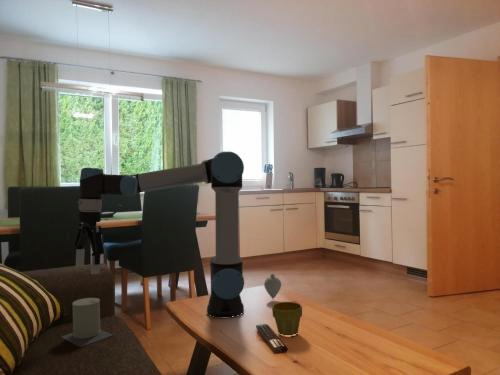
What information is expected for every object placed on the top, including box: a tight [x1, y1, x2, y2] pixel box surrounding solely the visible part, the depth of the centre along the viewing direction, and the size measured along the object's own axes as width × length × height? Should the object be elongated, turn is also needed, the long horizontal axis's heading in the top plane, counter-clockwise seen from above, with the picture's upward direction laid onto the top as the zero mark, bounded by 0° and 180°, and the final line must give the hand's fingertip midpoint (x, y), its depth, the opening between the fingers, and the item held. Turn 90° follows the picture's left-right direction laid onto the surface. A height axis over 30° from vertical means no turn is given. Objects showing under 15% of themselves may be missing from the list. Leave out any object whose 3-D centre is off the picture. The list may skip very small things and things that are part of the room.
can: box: [71, 297, 102, 339], centre depth 134 cm, size 9×9×12 cm
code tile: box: [60, 329, 114, 348], centre depth 132 cm, size 14×12×1 cm
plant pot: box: [271, 301, 303, 335], centre depth 130 cm, size 10×10×10 cm
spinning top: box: [264, 273, 282, 299], centre depth 168 cm, size 8×8×12 cm
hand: (87, 270), depth 134 cm, fingers open, 13 cm apart
